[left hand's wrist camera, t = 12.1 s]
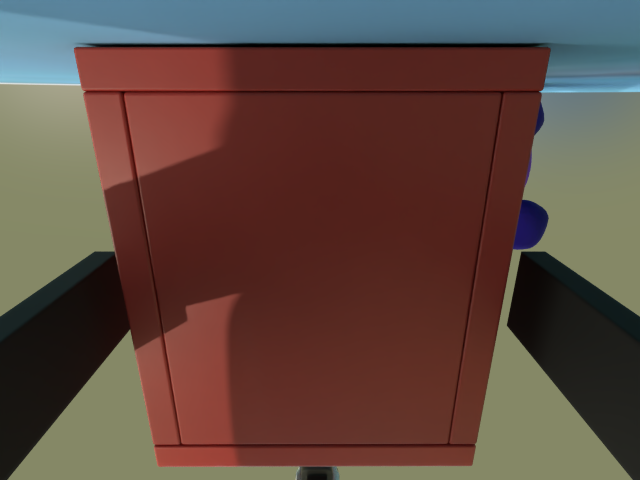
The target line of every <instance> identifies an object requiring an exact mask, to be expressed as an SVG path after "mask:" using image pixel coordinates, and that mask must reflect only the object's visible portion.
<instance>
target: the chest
mask: <svg viewBox="0 0 640 480" xmlns="http://www.w3.org/2000/svg"><path fill="white" fill-rule="evenodd" d="M550 51H551V50H550V48H549V47H76V48H74V53H75V58H76V63H77V68H78V73H79V77H80V82H81V87H82V90H84V91H87V92H85V93H84V95H83V96H84V101H85V106H86V111H87V116H88V121H89V126H90V131H91V136H92V141H93V146H94V151H95V155H96V160H97V166H98V171H99V176H100V181H101V186H102V190H103V195H104V200H105V205H106V210H107V215H108V220H109V225H110V230H111V235H112V240H113V245H114V250H115V255H116V260H117V265H118V270H119V275H120V280H121V285H122V290H123V295H124V300H125V305H126V310H127V315H128V320H129V325H130V330H131V335H132V340H133V345H134V350H135V355H136V360H137V365H138V370H139V375H140V380H141V385H142V390H143V395H144V400H145V405H146V410H147V415H148V420H149V425H150V430H151V435H152V440H153V444H155V445H178V444H180V443H181V442H182V444H447V443H448V441H449V443H450V444H475V443H476V442H477V437H478V432H479V426H480V421H481V415H482V410H483V405H484V400H485V394H486V389H487V384H488V378H489V373H490V368H491V362H492V357H493V352H494V346H495V341H496V336H497V330H498V325H499V320H500V315H501V309H502V304H503V299H504V293H505V288H506V283H507V277H508V272H509V267H510V261H511V256H512V251H513V245H514V240H515V235H516V229H517V224H518V219H519V214H520V208H521V203H522V197H523V192H524V187H525V182H526V176H527V171H528V166H529V160H530V155H531V150H532V144H533V139H534V134H535V128H536V123H537V118H538V112H539V107H540V102H541V96H542V94H541V92H538V91H542V90H543V88H544V83H545V77H546V72H547V67H548V61H549V56H550Z"/></svg>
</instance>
